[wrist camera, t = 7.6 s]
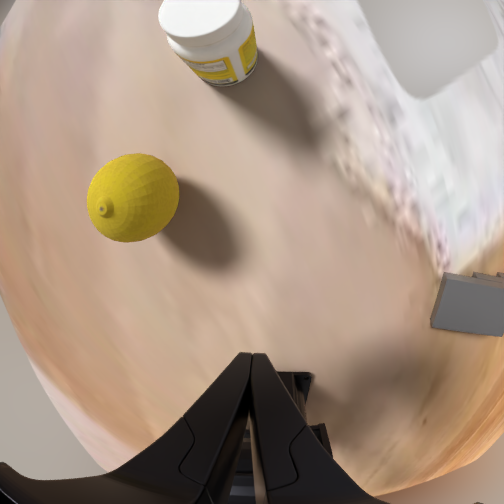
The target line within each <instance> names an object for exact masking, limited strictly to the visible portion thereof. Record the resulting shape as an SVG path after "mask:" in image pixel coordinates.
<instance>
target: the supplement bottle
mask: <svg viewBox="0 0 504 504" xmlns="http://www.w3.org/2000/svg"><path fill="white" fill-rule="evenodd" d="M159 23H160V25H161V27H162V29H163V30H164V31H165V32H166V34H167V39H168V43H169V45H170V47H171V48H172V50H173V51H174V52H175V53H176V54H177V55H178V56H179V57H180V58H181V59H182V60H183V61H184V62H185V63H186V64H187V65H188V66H189V67H190V68H191V69H192V70H193V71H194V72H195V73H196V74H197V75H198V77H199V78H201V79H202V80H203V81H205V82H206V83H209V84H211V85H215V86H230V85H234V84H237V83H239V82H241V81H243V80H244V79H246V78H247V77H248V76H249V75H250V74H251V73H252V72H253V70H254V69H255V67H256V64H257V60H258V52H257V46H256V39H255V32H254V26H253V20H252V16H251V13H250V12H249V10H248V8H247V7H246V6H245V5H244V4H243V3H242V2H241V0H165V1H164V2H163V4H162V5H161V8H160V10H159Z"/></svg>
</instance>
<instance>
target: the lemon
mask: <svg viewBox="0 0 504 504" xmlns="http://www.w3.org/2000/svg"><path fill="white" fill-rule="evenodd" d="M178 201H179V185H178V182H177V179H176V176H175V175H174V173H173V172H172V170H171V168H170V167H168V166H167V165H166V164H165V163H164V162H163V161H162V160H160V159H158V158H156V157H154V156H151V155H146V154H140V153H137V154H129V155H124V156H121V157H119V158H116V159H114V160H112V161H110V162H109V163H107V164H106V165H105V166H104V167H102V168H101V169H100V170H99V171H98V172H97V174H96V175H95V177H94V178H93V179H92V182H91V184H90V187H89V189H88V195H87V208H88V213H89V216H90V218H91V221H92V223H93V224H94V226H95V227H96V228H97V230H98V231H99V232H101V233H102V234H103V235H104V236H106V237H108V238H110V239H112V240H114V241H119V242H135V241H141V240H144V239H147V238H149V237H151V236H154V235H155V234H157V233H158V232H159V231H161V230H162V229H163V228H164V227H165V226H166V225H167V224H168V223H169V221H170V220H171V219H172V217H173V216H174V214H175V211H176V209H177V206H178Z"/></svg>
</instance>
